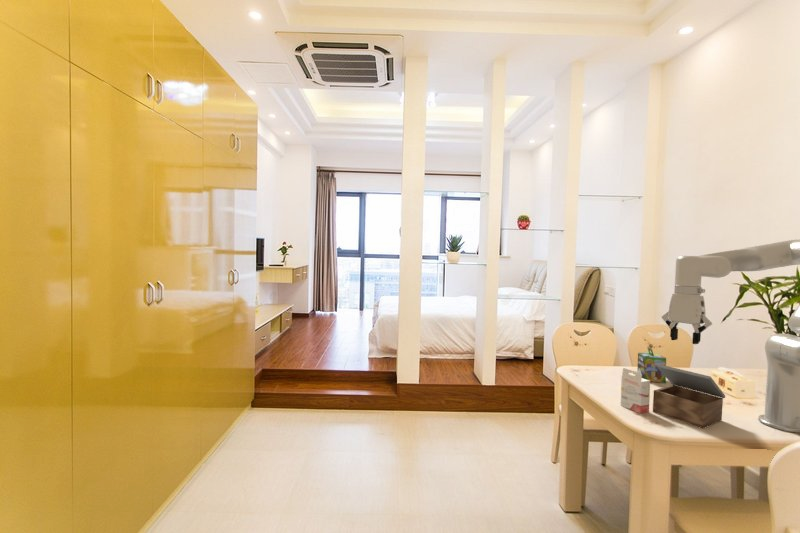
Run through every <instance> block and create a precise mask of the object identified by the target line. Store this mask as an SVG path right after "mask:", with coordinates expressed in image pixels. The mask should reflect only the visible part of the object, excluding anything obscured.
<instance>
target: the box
mask: <svg viewBox="0 0 800 533" xmlns="http://www.w3.org/2000/svg"><path fill="white" fill-rule="evenodd" d="M723 402H724V398H721V397H717V396H714V395H710V394H706V393H703V392H699V391H695V390H691V389H688V388H684V387H680V386H677V385H673V384H671V385H668V386H664V387H661V388H658V389H654V390H653V399H652V413H654V414H658V415H660V416H664V417H667V418H670V419H674V420H676V421H679V422H682V423H685V424H688V425H691V426H693V427H697V428H699V427H700V429H705V427H706V428H708V427H710V426H713V425H715V424H717V423H719V422H721V421H722V418H723Z"/></svg>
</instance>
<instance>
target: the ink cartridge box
mask: <svg viewBox="0 0 800 533" xmlns="http://www.w3.org/2000/svg"><path fill="white" fill-rule="evenodd" d="M621 373H622V375H621V387H620V388H621V389H620V406H621V407H624V408H626V409H628V410H631V411H633V412H636V413H637V414H643V413H649V412H650V397H651V395H650V393H651V382H650V381H649V380H646V379H643V378H642V373H639V372H637V371H635V370H632V369H628V368H625V367H623V368H622V372H621Z"/></svg>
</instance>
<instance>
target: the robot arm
mask: <svg viewBox="0 0 800 533" xmlns="http://www.w3.org/2000/svg"><path fill="white" fill-rule="evenodd" d="M797 265H799V266H800V239H791V240H789V239H788V240H784V241H778V242H773V243H768V244H762V245H757V246H756V245H755V246H749V247H744V248H743V247H742V248H739V249H732V250H726V251H718V252H713V253H707V254H701V255H697V256H696V255H679V256H677V257H676V260H675V271H674V272H675V274H674V275H675V276H674V291H673V292H674V293H672V295H671V297H670V301H669V306H668V311H667V312H666V313H664V314H663V315H662V316H661V319H662V320H663V321H664V323H665V324H666V325H667V326H668V328H669V329H670V330H669V331H670V335H669V336H670V340H671V341H676V340H678V337H679V329H678V328H677V327H678V326H679V324H680V323H681V324H687V325H688V324H689V325H692V328H693V330H694V332H693V333H692V342H691V343H692V344H693V345H698V344H699V343H700V342H701V333H703V332H704V331H705V330H706V329H708V328H709V327H711V326H713V323H712V321H711V320H710V319H709V318H708V317H707V315H706V303H705V298H704V295H702V294H705V293H706V289H705V288H702V277H705V278H712V279H713V278H714V279H716V278H717V279H719V278H723V277H724V278H725V277H726V276H728V275H730V273H731V272H761V271H766V270H772V269H777V268H785V267H789V266H790V267H791V266H797ZM787 326H788V327H789V329H790V330H791V331H792V332H793V333H796V334H798V335H800V304H799V305H798V306H797V307H796V309H795V310H794V311H793V313H792V314H791V316H790V317H789V318H788V321H787ZM798 335H793V334H789V333H782V332H781V333H775V334H773V335H770V336H769V337H768V338H767V339H766V341H765V345H764V350H765V358H766V365H767V369H766V382H765V383H766V384H765V402H764V403H765V404H764V414H760V415H758V421H759V422H760V423H762V424H763V425H766V426H768V427H771V428H773V429H777V430H781V431H785V432H791V433H797V434H798V433H800V336H798Z"/></svg>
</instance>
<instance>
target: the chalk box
mask: <svg viewBox="0 0 800 533" xmlns="http://www.w3.org/2000/svg"><path fill="white" fill-rule="evenodd" d="M653 352H654V351H653V348H651V347H648V346H647V352H638V353H637V371H636V372H639V373H642V378H643V379H646V380H649V381H650V383H664V384H665V383H667V381H666V380H667V378H666V377H665V376H664V375H663V374H662V372H661V371H660V370H659V369H658V368H657V367H656V365H657V364H660V365H664V366H667V357H666V356H663V355H661V354H659V353H653Z"/></svg>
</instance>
